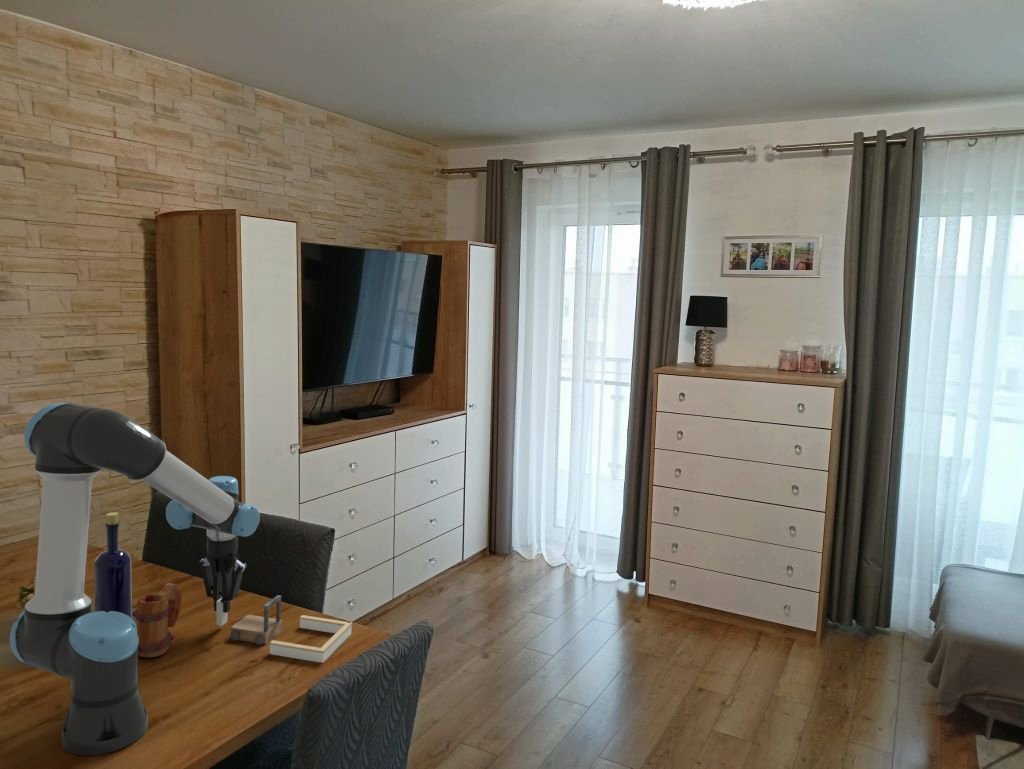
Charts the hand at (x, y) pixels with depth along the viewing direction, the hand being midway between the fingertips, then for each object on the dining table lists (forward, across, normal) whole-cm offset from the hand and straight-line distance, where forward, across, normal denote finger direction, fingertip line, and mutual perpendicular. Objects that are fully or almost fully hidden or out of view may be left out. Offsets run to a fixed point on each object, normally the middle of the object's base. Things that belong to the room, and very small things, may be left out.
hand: (222, 623), depth 196 cm
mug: (+2, +8, +14) cm, 16 cm away
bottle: (+2, +27, +7) cm, 28 cm away
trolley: (+2, -10, 0) cm, 10 cm away
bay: (+2, -25, 0) cm, 25 cm away
